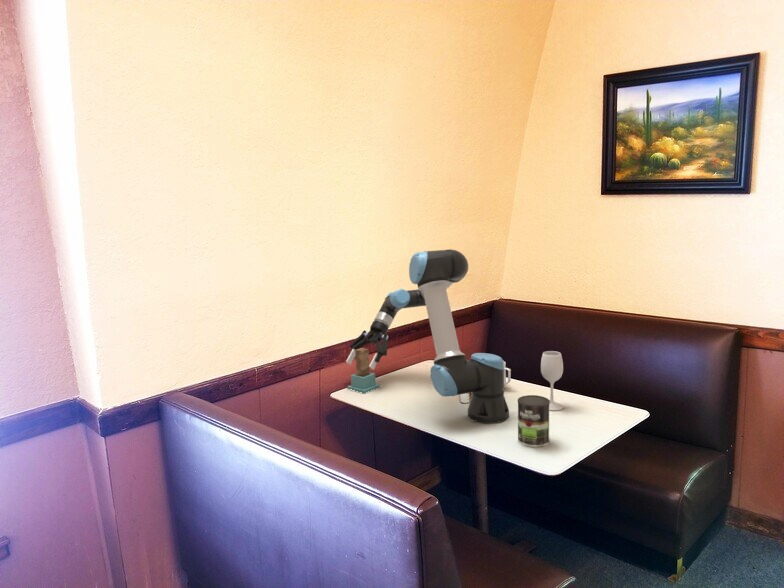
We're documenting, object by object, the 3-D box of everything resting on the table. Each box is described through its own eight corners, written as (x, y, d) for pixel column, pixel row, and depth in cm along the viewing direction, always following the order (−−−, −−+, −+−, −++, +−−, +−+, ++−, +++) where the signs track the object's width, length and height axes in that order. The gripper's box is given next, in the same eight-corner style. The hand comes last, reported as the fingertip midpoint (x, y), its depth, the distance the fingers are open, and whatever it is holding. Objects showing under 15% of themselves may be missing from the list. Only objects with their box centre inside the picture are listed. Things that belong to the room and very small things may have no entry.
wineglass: (539, 402, 234) (539, 350, 231) (562, 403, 232) (563, 350, 229) (540, 410, 226) (540, 356, 222) (564, 411, 224) (564, 356, 220)
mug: (480, 388, 253) (479, 363, 251) (492, 383, 259) (492, 358, 257) (503, 394, 245) (503, 368, 243) (516, 389, 251) (516, 363, 249)
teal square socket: (380, 387, 260) (379, 373, 259) (364, 393, 253) (363, 379, 252) (363, 383, 267) (362, 369, 266) (347, 389, 260) (346, 375, 258)
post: (370, 385, 260) (368, 349, 257) (363, 387, 257) (362, 351, 254) (363, 383, 263) (361, 347, 260) (357, 385, 260) (355, 350, 257)
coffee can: (544, 449, 192) (544, 407, 190) (513, 443, 198) (512, 402, 195) (553, 437, 201) (553, 397, 199) (523, 432, 206) (523, 393, 204)
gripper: (407, 332, 260) (385, 374, 251) (365, 325, 276) (343, 365, 267) (398, 322, 255) (376, 365, 246) (356, 316, 271) (334, 356, 263)
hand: (359, 365), depth 257 cm, fingers open, 13 cm apart
